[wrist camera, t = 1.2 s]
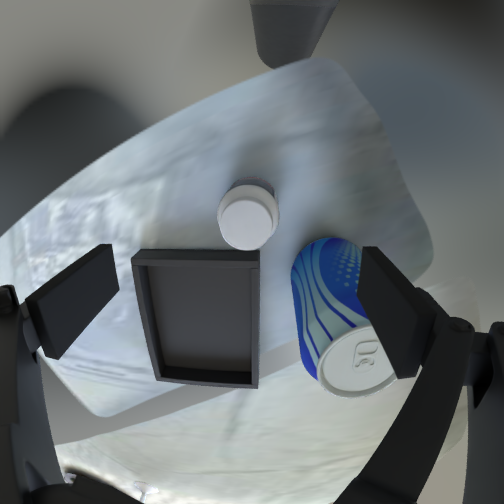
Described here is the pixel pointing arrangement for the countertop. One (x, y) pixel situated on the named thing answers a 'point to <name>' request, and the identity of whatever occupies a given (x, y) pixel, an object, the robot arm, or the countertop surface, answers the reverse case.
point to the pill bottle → (248, 213)
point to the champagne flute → (145, 489)
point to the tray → (200, 314)
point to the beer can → (336, 321)
